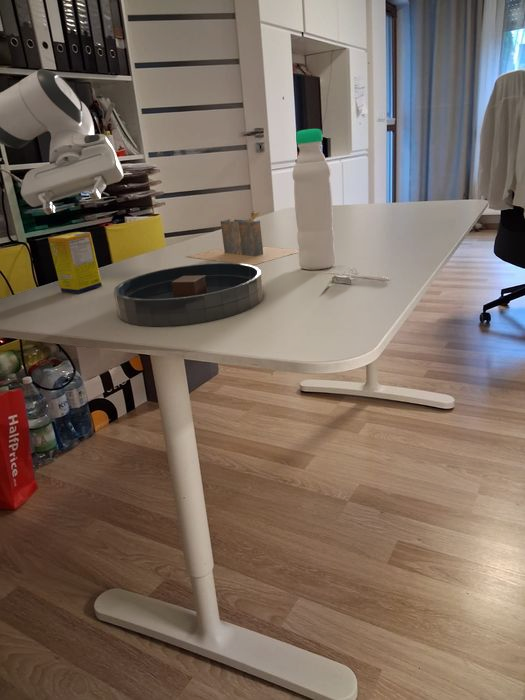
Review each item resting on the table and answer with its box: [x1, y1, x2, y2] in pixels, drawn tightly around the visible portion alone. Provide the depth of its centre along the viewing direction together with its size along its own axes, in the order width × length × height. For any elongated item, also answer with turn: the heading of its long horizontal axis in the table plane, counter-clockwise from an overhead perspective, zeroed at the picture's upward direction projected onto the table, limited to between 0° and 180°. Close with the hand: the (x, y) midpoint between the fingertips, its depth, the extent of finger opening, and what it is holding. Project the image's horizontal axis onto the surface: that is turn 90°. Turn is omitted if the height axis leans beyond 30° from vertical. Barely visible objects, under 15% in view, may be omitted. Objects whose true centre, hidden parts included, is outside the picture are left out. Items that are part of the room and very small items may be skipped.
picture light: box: [323, 267, 391, 285], centre depth 89 cm, size 14×4×2 cm, turn 46°
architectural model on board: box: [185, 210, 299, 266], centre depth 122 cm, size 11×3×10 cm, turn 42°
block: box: [171, 276, 207, 298], centre depth 84 cm, size 4×4×4 cm
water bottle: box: [292, 128, 336, 271], centre depth 98 cm, size 7×7×25 cm
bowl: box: [113, 262, 264, 327], centre depth 84 cm, size 23×23×4 cm
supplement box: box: [47, 231, 103, 295], centre depth 103 cm, size 6×6×11 cm
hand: (71, 204), depth 100 cm, fingers open, 8 cm apart
